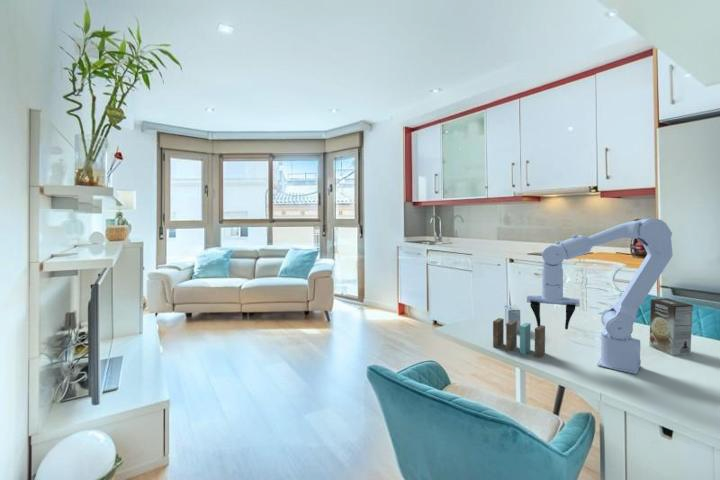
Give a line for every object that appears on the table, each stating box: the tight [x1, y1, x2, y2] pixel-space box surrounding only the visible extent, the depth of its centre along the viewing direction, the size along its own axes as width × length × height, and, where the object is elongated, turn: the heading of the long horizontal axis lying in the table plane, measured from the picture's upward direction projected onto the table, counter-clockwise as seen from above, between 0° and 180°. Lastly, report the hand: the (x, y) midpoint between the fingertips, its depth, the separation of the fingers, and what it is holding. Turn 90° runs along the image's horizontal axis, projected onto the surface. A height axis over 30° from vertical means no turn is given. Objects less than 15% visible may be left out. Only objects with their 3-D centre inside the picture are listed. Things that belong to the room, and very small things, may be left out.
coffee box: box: [649, 297, 694, 357], centre depth 119 cm, size 9×6×16 cm
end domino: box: [492, 317, 505, 349], centre depth 128 cm, size 2×5×9 cm, turn 138°
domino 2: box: [519, 322, 531, 355], centre depth 122 cm, size 2×5×9 cm, turn 137°
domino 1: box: [505, 320, 518, 352], centre depth 125 cm, size 2×5×9 cm, turn 137°
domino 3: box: [534, 324, 546, 359], centre depth 119 cm, size 2×5×9 cm, turn 137°
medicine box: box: [504, 304, 521, 333], centre depth 145 cm, size 8×4×9 cm, turn 168°
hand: (552, 326), depth 116 cm, fingers open, 7 cm apart
